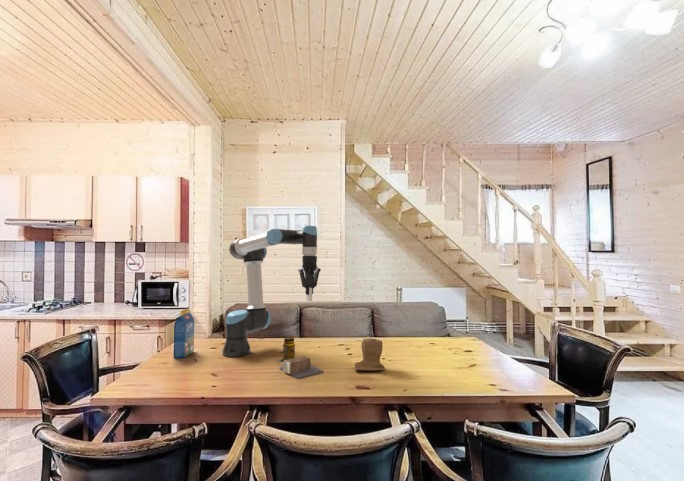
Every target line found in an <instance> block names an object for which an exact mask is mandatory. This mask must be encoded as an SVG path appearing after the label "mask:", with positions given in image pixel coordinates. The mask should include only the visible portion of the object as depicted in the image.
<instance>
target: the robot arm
mask: <svg viewBox="0 0 684 481" xmlns="http://www.w3.org/2000/svg"><path fill="white" fill-rule="evenodd" d="M283 244H284V245H302V259H301V260H302V261H301V262H302V266H301V268H298V269H297V271H298V273H299V277H300V281H301V286H302V288H305V295H306V301H307V302H313V295H314V289H315V287H317V286H318V282H319V281H318V280H319V275H320V272H321V271H322V270H321V268H319V267H318V265H317V262H318V256H317V255H318V227H317V226H316V225H304V226H302V229H295V230H294V229H283V228H282V229H280V228H269V229H268V230H267V231H266V232H264V233H261V234H257V235H255V236H252V237H248V238H238V239H235V240H233V241H232V242H231V243H230V245H229V246H228V247H229V249H228V251H229V254H230V255H231V256H232V257H233V258H235V259H237V260H243V264H245V266H246V282H247V301H248V305H247V307H246V308H245V309H239V310H233V311H230V312H229V313H228V314H226V320H225V342H224V345H223V348H222V356H225V357H229V358H230V357H231V358H236V357H237V358H238V357H243V356H247V355H249V354H250V353H251V345H250V343H249V340H248V339H249V338H248V333H251V332H256V331H262V330H265V329H266V328H268V327H269V325H270V324H271V319H272V317H271V316H272V315H271V313H270V311H269V310H268V309H267V306H266V305H265V304H264V296H263V295H264V294H263V293H264V292H263V278H262V277H263V275H262V264H263V262H264V259H265V258H266V257H267V253H268V251H267V248H268V247H273V246H277V245H283Z"/></svg>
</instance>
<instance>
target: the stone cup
mask: <svg viewBox="0 0 684 481" xmlns="http://www.w3.org/2000/svg"><path fill="white" fill-rule="evenodd" d="M383 348H384V347H383V341H382V340H381V339H377V338H367V337H366V338H364V337H363V339H362V341H361V352H362V360H360V361H357V362H355V363H354V367H353V368H354V370H355V371H361V372H362V371H366V372H367V371H368V372H369V371H370V372H372V371H373V372H374V371H384V370H386V369H385V365H384V364H382V363H381V362H380V361H381V356H382V353H383Z"/></svg>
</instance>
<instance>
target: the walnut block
mask: <svg viewBox="0 0 684 481" xmlns="http://www.w3.org/2000/svg"><path fill="white" fill-rule="evenodd" d="M310 365H311V358H310V357H308V356H305V355H303V356H299V357H295V358H293V359H289V360H284V364H282V367H283V370H282V371H283V372H284V373H285V374H288V375H290V374H291V373H295V372H299V371H303V370H307V369H310Z"/></svg>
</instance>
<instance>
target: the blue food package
mask: <svg viewBox="0 0 684 481" xmlns="http://www.w3.org/2000/svg"><path fill="white" fill-rule="evenodd" d="M173 327H174V328H173V358H174V359H184V358H186V357H188V356H190V355H191V354H192V353H194V351H195V350H194V349H195V347H194V346H195V319H194V317H193V315H192V314H191V313H190V307H188V308H186V309H183V310H180V311H179V317H178V318H177V319H176V320H175V321H174V324H173Z"/></svg>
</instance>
